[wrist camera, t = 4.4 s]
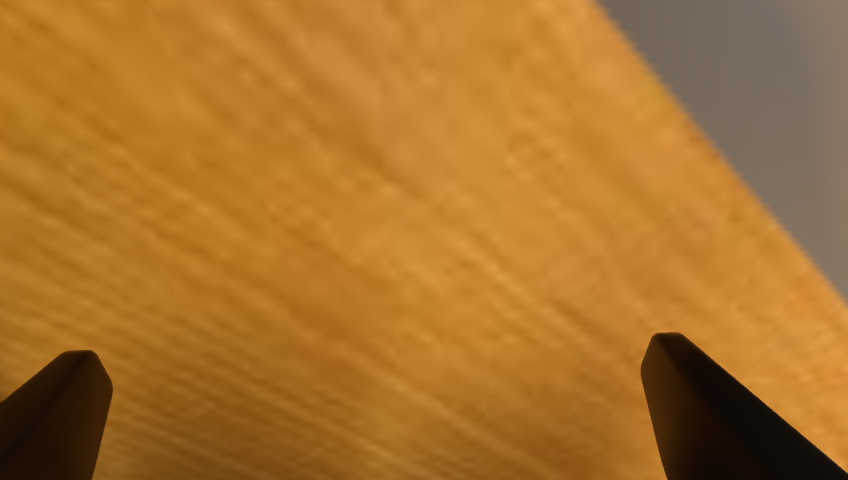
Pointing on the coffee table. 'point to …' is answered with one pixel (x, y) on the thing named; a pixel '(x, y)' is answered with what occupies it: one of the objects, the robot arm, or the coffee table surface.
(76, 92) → the coffee table surface
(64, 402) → the robot arm
